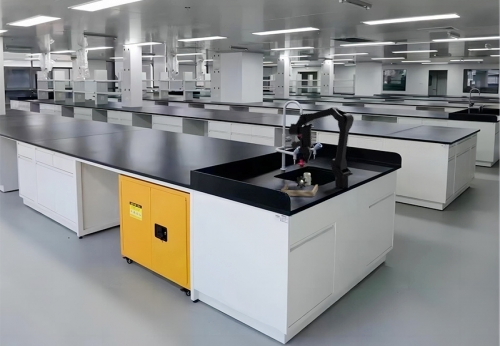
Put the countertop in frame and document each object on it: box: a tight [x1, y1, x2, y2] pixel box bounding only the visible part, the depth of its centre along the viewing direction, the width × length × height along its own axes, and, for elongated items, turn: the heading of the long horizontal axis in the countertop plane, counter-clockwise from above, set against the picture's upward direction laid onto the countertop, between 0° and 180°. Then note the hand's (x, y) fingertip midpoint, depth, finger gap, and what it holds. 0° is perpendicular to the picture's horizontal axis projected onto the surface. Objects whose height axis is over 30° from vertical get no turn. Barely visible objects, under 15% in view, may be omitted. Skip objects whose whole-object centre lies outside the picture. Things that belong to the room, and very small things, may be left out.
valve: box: [295, 172, 312, 189], centre depth 239 cm, size 7×7×12 cm
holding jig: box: [279, 183, 319, 197], centre depth 225 cm, size 17×16×2 cm
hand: (306, 163), depth 246 cm, fingers closed
